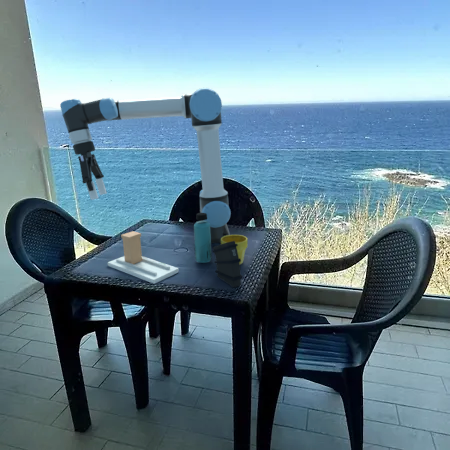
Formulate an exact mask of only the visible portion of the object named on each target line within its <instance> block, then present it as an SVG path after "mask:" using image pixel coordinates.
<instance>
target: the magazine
mask: <svg viewBox="0 0 450 450" xmlns="http://www.w3.org/2000/svg"><path fill="white" fill-rule="evenodd" d="M236 246H238V245H237V244H235V241H231V242H227V243H224V244H221V243H220V244H217V245H214V246H213V247H212V249H211V252H212V254H213V253H214V256H215V261H214V264H215V265H216V270H215V273H216V276H217V278H219V279H220V280H222V281H224V282H225V283H227V284H228V285H229V286H231V287H232V288H237V287H241V286H242V283H241V281H242V279H243V275H242V273H241V266H240V265H241V264H239V262H241V259H239V257H238V252H237V248H236Z"/></svg>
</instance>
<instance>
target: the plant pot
mask: <svg viewBox="0 0 450 450" xmlns="http://www.w3.org/2000/svg"><path fill="white" fill-rule="evenodd" d="M248 239H249V238H248V237H247V236H245V235H242V234H230V235H227V236H224V237H222V238H221V242H220V245H221V244H224V243H227V242H231V241H235V244H237V245H238V246H236V248H237V252H238V257H239V259H241V262H239V264H240V265H242V264H243V263H244V259H245V253H246V250H247V248H248V246H249V245H248Z"/></svg>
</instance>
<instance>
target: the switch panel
mask: <svg viewBox="0 0 450 450" xmlns="http://www.w3.org/2000/svg"><path fill="white" fill-rule="evenodd" d="M107 266H108V267H110V268H112V269H116V270H118V271H120V272H123V273H126V274H128V275H131V276H133V277H136V278H138V279H140V280H143V281H146V282H149V283H150V284H154V285H155V284H158V283H160V282H161V281H163V280H166V279H167V278H170V277H171V276H174V275H175V274H177V273H180V272H179V268H178V267H176V266H173V265H170V264H168V263H167V264H166V263H165V262H160V261H158V260H155V259H152V258H149V257H146V256H143V255H142V261H140V262H137V263H135V264H132V263H129V262H126V261H125V257H124V255H123V256H121V257H118V258H115V259H112V260H111V261H108V262H107Z"/></svg>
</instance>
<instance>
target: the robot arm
mask: <svg viewBox="0 0 450 450" xmlns="http://www.w3.org/2000/svg"><path fill="white" fill-rule="evenodd" d="M222 103H223V101H222V99H221V97H220V95H219V93H217V91H215V90H214V89H213V88H209V87H202V88H199V89H196V90H195V91H194V92H193V93H182V95H181V96H176V97H175V96H174V97H160V98H159V97H158V98H156V97H155V98H141V99H139V98H138V99H122V100H121V99H120V100H119V99H118V100H114V98H113V97H106V98H101V99H97V100H94V101H93V100H92V101H88V102H84V103H82V101H81V100H80V99H77V98H72V99H65V100H63V101H62V102H61V103H60V110H61V113H62V115H61V116H62V117H63V119H64V124H65V127H66V128H67V132H68V139H70V142H71V144H73V145H72V150H73V152H74V154H75V155H77V156H78V155H79V156H78V161H79V165H80V172H81V179H82V184H85V185H86V188H87V192H88V194H89V195H88V196H89V197H90V201H93V200H97V199H99V195H100V196H103V195H107V190H106V186H105V182H104V180H103V178H104V177H105V176H104V174H103V172H102V169H101V168H100V166H99V164H98V160H97V159H96V155H95V154H94V153H92V152H95V151H96V148H95V144H94V141H92V140H93V137H92V134H91V131H90V128H89V125H91V124H95V123H100V122H106V121H110V122H111V121H121V120H134V119H135V120H137V119H138V120H139V119H152V118H153V119H154V118H155V119H156V118H157V119H158V118H169V117H170V118H171V117H173V118H174V117H183V118H184V119H191V127H192V128H193V129H194V130H195V131H196V137H197V138H196V139H197V148H198V158H199V167H200V177H201V185H202V187H201V188H202V189H201V190H200V191H199V213H206V214H207V220H200V221H207V222H208V223H209V224H210V232H211V233H210V234H211V244H218V243H220V244H221V238H222V237H224V236H227V235H231V234H230V231H229V227H228V224H227V223H228V222H229V220H230V218H231V214H232V213H231V212H232V211H231V209H230V206H229V204H230V203H229V196H228V195H229V193H228V191H227V190H226V189H225V188H224V177H223V167H222V158H221V157H222V154H221V145H220V133H219V132H220V131H219V130H220V127H221V126H222V124H223V122H222V121H223V120H222V107H223V104H222ZM92 175H93V176H92ZM93 177H94V179H95V182H94V180H93ZM95 184H96V185H95ZM96 187H97V189H96ZM97 190H98V192H97ZM98 193H99V195H98Z"/></svg>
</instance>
